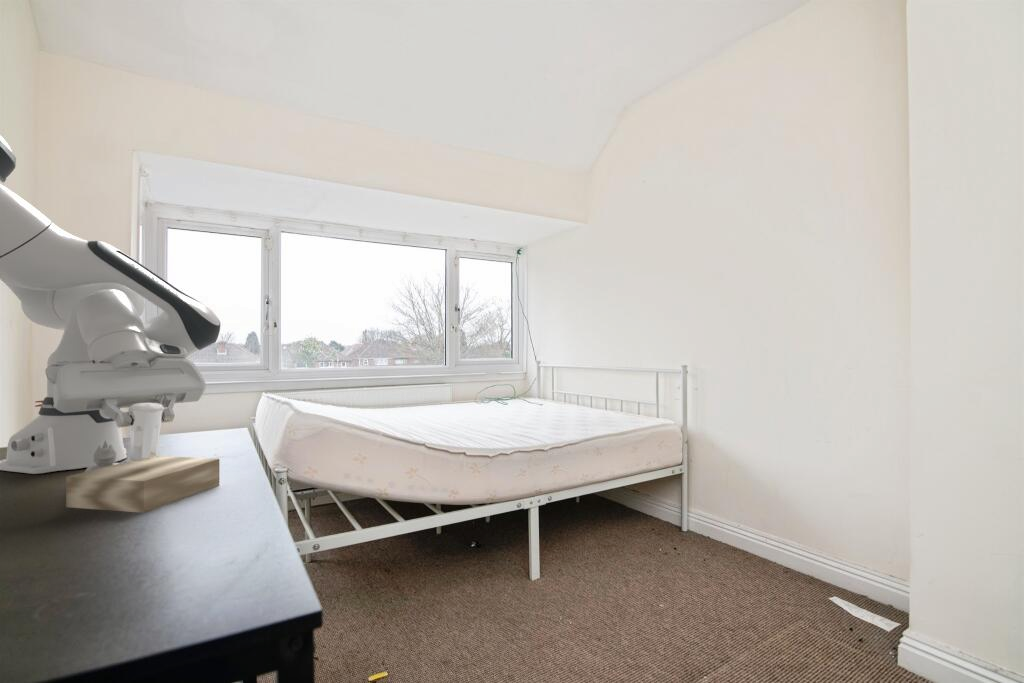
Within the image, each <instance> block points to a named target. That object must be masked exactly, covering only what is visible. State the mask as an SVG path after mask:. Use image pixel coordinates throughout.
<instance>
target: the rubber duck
mask: <svg viewBox="0 0 1024 683" xmlns="http://www.w3.org/2000/svg"><path fill="white" fill-rule="evenodd" d="M115 460H116V450H115V449H114V447H113V446H112V444H110V446H109V447H108V445H107V442H106V440H105V442H104V445H103V447H102V448H101V446H99V447H98V448H97V450H96V451H95V453H94V462H95V463H96V465H94V466H91V467H86V469H85V470H84V472H87V471H91V470H96V469H100V468H104V467H108V466H112V465H116V464H120V462H114V461H115Z"/></svg>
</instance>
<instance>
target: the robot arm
mask: <svg viewBox="0 0 1024 683" xmlns="http://www.w3.org/2000/svg"><path fill="white" fill-rule="evenodd" d="M16 166H17V157H16V155H15V154H14V153H13V151H12V149H11V147H10V145H9V144H8V142H7V141H6V140H5V139H4V138H3V136H2V135H0V182H1V183H5V182H6V180H7V178H8V177H10V175H11V174H12V173H13V172H14V171H15V169H16ZM1 183H0V281H2V282H3V283H4V284H5V285H6V286H7V287H8V288H9V289H10V290H11V292H12V293H13V294H14V295H15V297H16V298H17V299H18V300H19V301H20V302H21V303H20V304H21V309H22V311H23V313H24V315H25V317H27V319H29V320H30V321H32V322H33V323H35V324H36V325H40V326H42V327H47V328H49V329H54V330H59V331H63V334H62V336H61V340H60V342H59V344H58V346H57V347H56V349H55V350H54V351H53V352H52V353H51V354H50V355H49V356H48V359H47V363H46V364H47V365H46V366H47V367H46V368H45V376H46V390H47V391H46V397H44V398H43V400H36V401H34V402H35V403H39V404H36V405H34V407H35V408H37V407H40V408H39V411H38V416H37V417H36V418H35V419H33V420H32V421H30V422H29V423H28V424H26V425H25V426H24V427H23V428H21V429H20V430H18V431H16V433H14V434H12V435H11V437H10V438H9V439H8V442H7V448H6V457H5V458H6V459H2V460H1V459H0V471H6V472H14V473H24V474H31V475H37V474H38V475H39V474H45V473H51V472H57V471H59V472H60V471H66V470H77V469H78V470H79V469H83V468H89V467H91V466H94V465H96V463H95V462H94V453H95V451H96V450H97V448H98V447H99V446H101V448H102V447H103V445H104V442H105V440H106V442H107V445H108V447H109V446H110V444H112V446H113V447H114V449H115V450H116V460H115V461H114V463H117V462H119V461H122V460H124V459H126V458H128V456H127V448H126V447H125V444H124V439H123V432H122V431H123V430H122V428H126V427H130V424H131V422H132V418H131V417H130V413H129V411H124V412H123V411H122V410H121V409H124V408H130V407H131V406H132V405H134V404H137V403H158V404H159V402H160V399H161V397H162V396H164V398H163V401H162V403H161V405H162V406H163V407H164V412H163V417H162V423H170V422H173V421H174V418H175V412H174V409H173V408H174V405H175V404H182V403H183V404H184V403H193V402H194V403H195V402H198V401H200V399H201V398H202V397H203V396H204V393H205V392H206V389H207V384H206V381H205V378H204V377H203V375H202V373H201V372H200V370H199V368H198V366H197V365H196V364H195V363H194V362H193V361H192V360H190V359H188V357H190V356H191V355H193V354H194V353H196V352H198V351H201V350H202V349H205V348H207V347H209V346H211V345H212V344H215V343H216V342H217V341H218V337H219V335H220V330H221V321H220V319H219V318H218V316H217V315H216V313H215V312H214V311H213V310H212V309H211V308H209V307H208V306H206V305H205V304H203V303H202V302H201V301H199V300H197V299H195V298H194V297H192V296H189V295H188V294H186V293H184V292H183V291H182V290H180V289H178V288H177V287H175V286H174V285H173V284H171V283H169V282H168V281H166V280H165V279H163V278H162V277H161V276H160V275H158V274H156V273H155V272H153V271H152V270H151V269H149V268H148V267H146V266H144V265H143V264H141V263H140V262H138V261H137V260H135V259H134V258H132V257H131V256H130V255H128V254H126V253H125V252H123V251H121V249H119V248H117V247H115V246H113V245H112V244H109V243H107V242H105V241H102V240H87V239H83V238H81V237H78V236H75V235H73V234H71V233H69V232H67V231H66V230H64V229H62V228H60V227H59V226H57V225H56V224H55V223H54V222H53V221H52V220H50V219H49V218H48V217H47V216H45V215H44V214H43V213H42V212H41V211H39V209H37V208H36V207H34V206H33V205H32V204H30V203H29V202H27V200H25V199H24V198H22V197H21V196H19V195H18V194H16V193H15V192H13V191H12V190H11V189H9V188H8V187H7V186H5V185H3V184H1ZM145 300H147V301H148V302H150V303H152V305H154V306H156V307H157V308H158V309H161V310H163V311H162V312H160V313H158V314H156V315H155V316H154V317H151V318H150V319H149V320H146V321H145V322H143V321H142V318H141V316H142V315H143V313H144V311H145V305H146V303H145ZM162 423H161V424H162Z"/></svg>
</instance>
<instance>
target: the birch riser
mask: <svg viewBox="0 0 1024 683" xmlns="http://www.w3.org/2000/svg"><path fill="white" fill-rule="evenodd" d="M119 463H120V462H119ZM65 477H66V478H65V479H66V481H65V482H66V483H65V484H66V485H65V489H66V492H65V493H66V496H65V497H66V498H65V500H66V501H65V505H66V508H74V509H89V510H101V511H116V512H130V513H131V512H132V513H142V514H143V513H147V512H151V511H153V510H155V509H158V508H162V507H163V506H166V505H169V504H171V503H174V502H177V501H180V500H183V499H186V498H189V497H190V496H191V497H192V496H193V495H197V494H199V493H202V492H206V491H208V490H210V489H213V488H216V487H220V458H214V457H213V458H211V457H210V458H209V457H189V456H188V457H187V456H166V455H156V458H155V459H151V460H143V461H133V460H129V461H124V462H121V463H120V464H116V465H112V466H108V467H104V468H100V469H96V470H91V471H87V472H85V471H83V472H80V473H76V474H72V475H68V476H65Z"/></svg>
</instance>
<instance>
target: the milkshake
mask: <svg viewBox="0 0 1024 683" xmlns="http://www.w3.org/2000/svg"><path fill="white" fill-rule="evenodd" d="M163 398H164V396H162V397H161V399H160V402H159V404H158V403H137V404H134V405H132V406H131V407H128V412H129V413H130V417H131V418H132V422H131V424H130V426H129V443H130V444H129V445H130V447H129V450H130V453H129V454H130V455H129V456H130V461H132V460H133V461H143V460H151V459H155V458H156V456H157V451H158V446H159V439H160V434H161V432H160V431H161V427H162V417H163V412H164V409H165V408H164V407H163V406H162V404H161V403H162V401H163Z"/></svg>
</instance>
